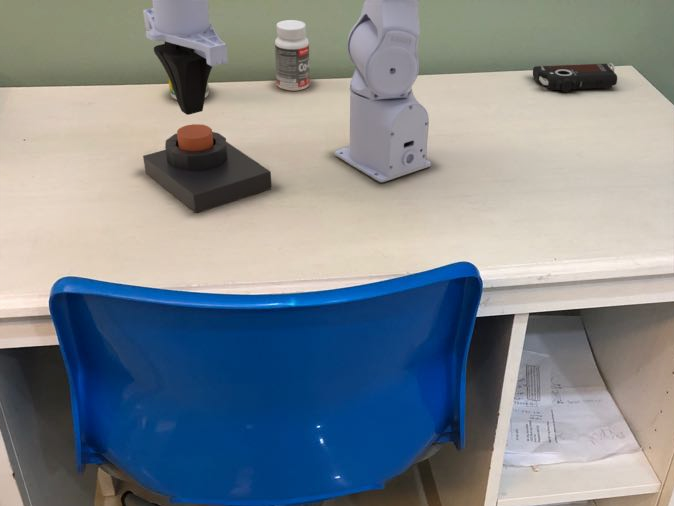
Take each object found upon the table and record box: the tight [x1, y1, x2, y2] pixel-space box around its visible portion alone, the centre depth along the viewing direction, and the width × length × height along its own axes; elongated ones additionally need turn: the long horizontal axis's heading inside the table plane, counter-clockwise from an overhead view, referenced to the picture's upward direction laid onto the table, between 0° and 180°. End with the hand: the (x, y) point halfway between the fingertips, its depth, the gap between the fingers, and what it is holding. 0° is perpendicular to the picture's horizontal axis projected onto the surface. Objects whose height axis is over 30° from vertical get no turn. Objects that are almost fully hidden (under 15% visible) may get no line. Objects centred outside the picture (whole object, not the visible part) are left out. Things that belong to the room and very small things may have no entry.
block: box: [142, 131, 272, 214], centre depth 100 cm, size 12×10×4 cm
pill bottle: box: [274, 19, 311, 92], centre depth 122 cm, size 5×5×8 cm
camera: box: [532, 62, 618, 93], centre depth 126 cm, size 6×3×11 cm
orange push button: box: [176, 123, 214, 151], centre depth 100 cm, size 4×4×2 cm
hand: (192, 111), depth 98 cm, fingers closed
